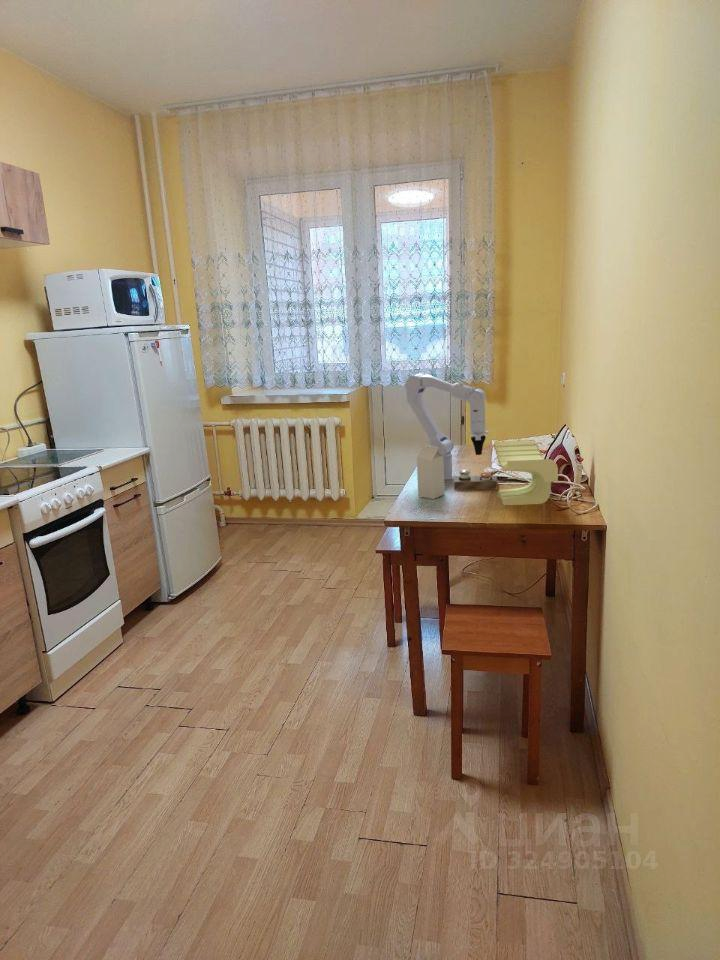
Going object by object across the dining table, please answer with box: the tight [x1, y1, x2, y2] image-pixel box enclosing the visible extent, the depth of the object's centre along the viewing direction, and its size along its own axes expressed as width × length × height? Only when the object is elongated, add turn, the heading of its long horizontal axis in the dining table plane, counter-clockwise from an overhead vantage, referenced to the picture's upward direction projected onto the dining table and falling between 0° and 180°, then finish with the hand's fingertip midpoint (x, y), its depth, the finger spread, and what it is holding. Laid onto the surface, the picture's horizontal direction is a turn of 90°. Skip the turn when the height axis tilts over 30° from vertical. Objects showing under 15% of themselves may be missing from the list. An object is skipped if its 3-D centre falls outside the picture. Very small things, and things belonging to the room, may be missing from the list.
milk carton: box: [416, 444, 446, 500], centre depth 217 cm, size 7×7×19 cm
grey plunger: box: [459, 468, 471, 480], centre depth 228 cm, size 4×4×4 cm
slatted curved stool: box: [494, 439, 559, 506], centre depth 207 cm, size 30×16×18 cm, turn 175°
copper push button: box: [480, 472, 492, 480], centre depth 226 cm, size 4×4×4 cm
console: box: [453, 475, 498, 490], centre depth 228 cm, size 16×8×3 cm, turn 79°
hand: (478, 454), depth 233 cm, fingers closed
